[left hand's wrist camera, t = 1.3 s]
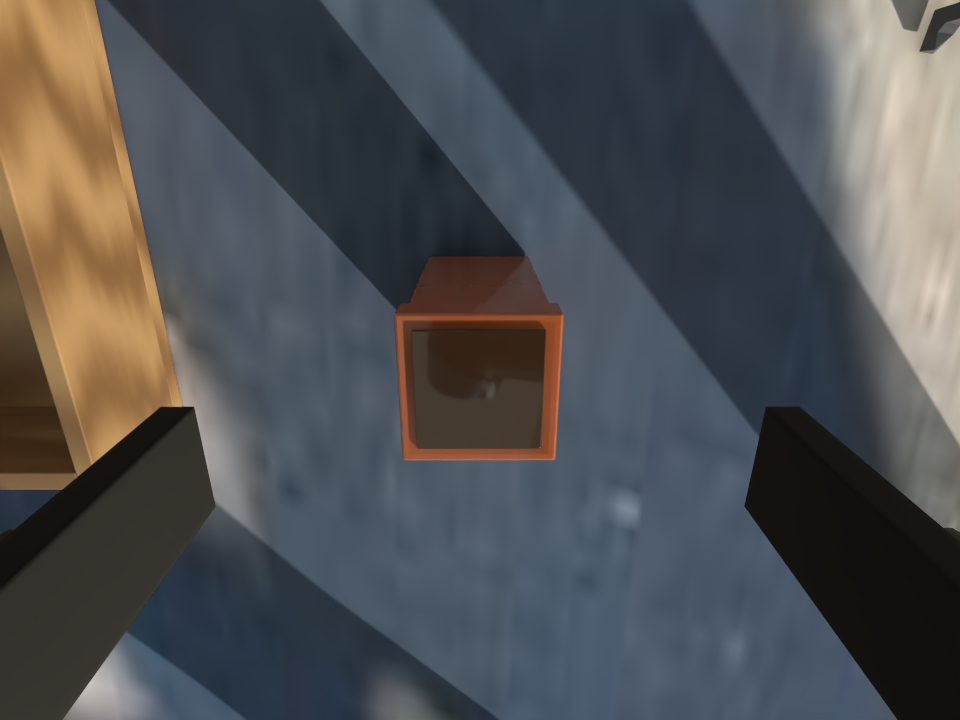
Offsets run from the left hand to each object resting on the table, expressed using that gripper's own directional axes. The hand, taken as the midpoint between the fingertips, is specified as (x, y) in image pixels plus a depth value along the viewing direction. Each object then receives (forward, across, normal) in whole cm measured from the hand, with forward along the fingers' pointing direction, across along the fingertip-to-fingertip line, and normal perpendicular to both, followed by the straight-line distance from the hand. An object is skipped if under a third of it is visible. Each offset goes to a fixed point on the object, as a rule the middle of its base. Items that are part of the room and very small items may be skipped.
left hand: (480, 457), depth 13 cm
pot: (+14, 0, 0) cm, 14 cm away
